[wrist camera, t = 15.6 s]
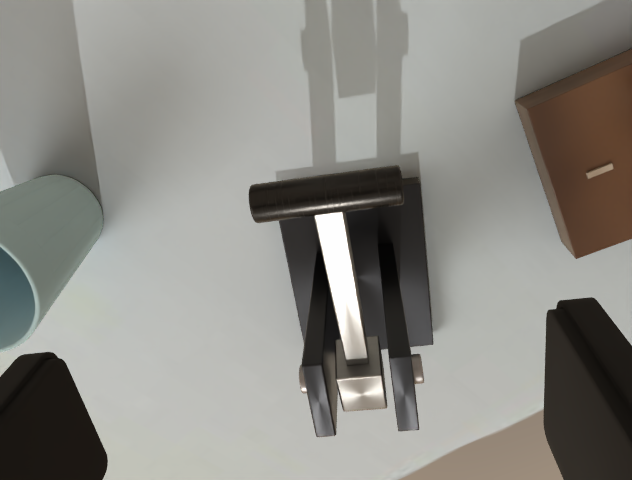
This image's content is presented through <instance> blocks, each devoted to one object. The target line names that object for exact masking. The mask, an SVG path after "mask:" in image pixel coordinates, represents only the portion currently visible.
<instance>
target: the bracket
mask: <svg viewBox="0 0 632 480" xmlns="http://www.w3.org/2000/svg"><path fill="white" fill-rule="evenodd" d="M402 184H403V193H404V203H403V205H398V206H390V207H382V208H374V209H366V210H358V211H350V212H345V213H346V218H347V224H348V230H349V236H350V242H351V248H352V254H353V260H354V266H355V272H356V277H357V283H358V289H359V295H360V301H361V307H362V313H363V319H364V325H365V331H366V336H367V337H368V336H378V337H379V341H380V348H381V349H388V353H389V362H390V370H391V378H392V386H393V393H394V401H395V409H396V417H397V425H398V431H409V430H419V422H418V413H417V403H416V394H415V384H419V383H424V377H423V368H422V361H421V356H420V354H413V355H411V350H410V347H413V346H424V345H433V333H432V321H431V309H430V297H429V285H428V273H427V261H426V249H425V237H424V225H423V213H422V201H421V189H420V182H419V179H418V177H416V178H408V179H402ZM279 223H280V228H281V233H282V238H283V243H284V247H285V252H286V257H287V262H288V267H289V272H290V277H291V282H292V287H293V291H294V296H295V301H296V306H297V311H298V316H299V321H300V326H301V331H302V335H303V340H304V351H303V358H302V365H300V368H299V381H300V388H301V391H302V393H307V395H308V400H309V404H310V409H311V414H312V419H313V423H314V428H315V433H316V436H317V437H324V436H335V435H336V424H337V395H338V387H337V383H336V379H335V340H337V339H341V338H340V333H339V328H338V324H337V319H336V315H335V310H334V305H333V301H332V296H331V292H330V287H329V283H328V278H327V273H326V269H325V264H324V260H323V255H322V250H321V246H320V241H319V237H318V232H317V227H316V223H315V218H314V216H310V217H302V218H295V219H287V220H279Z"/></svg>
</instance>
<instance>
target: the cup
mask: <svg viewBox="0 0 632 480" xmlns="http://www.w3.org/2000/svg"><path fill="white" fill-rule="evenodd" d="M102 227H103V214H102V210H101V206H100V204H99V202H98V201H97V199H96V198H95V196H94V195H93V193H92V192H91V191H90V190H89V189H88V188H87V187H85V186H84V185H83V184H81V183H80V182H78V181H76V180H75V179H72V178H69V177H66V176H62V175H48V176H42V177H38V178H35V179H33V180H30V181H27V182H25V183H22V184H19V185H17V186H14V187H11V188H9V189H6V190H4V191H1V192H0V353H1V352H5V351H8V350H11V349H13V348H16V347H18V346H19V345H21V344H22V343H24V342H25V341H26V340H27V339H28V338H29V337H30V336H31V335H32V333H33V332H34V331H35V329H36V328H37V326H38V325H39V323H40V322H41V320H42V319H43V318H44V316H45V315H46V313H47V312H48V310H49V309H50V307H51V306H52V304H53V303H54V301H55V300H56V299H57V297H58V296H59V294H60V293H61V291H62V290H63V289H64V287H65V286H66V284H67V283H68V281H69V280H70V278H71V277H72V276H73V274H74V273H75V271H76V270H77V268H78V267H79V266H80V264H81V263H82V261H83V260H84V258H85V257H86V255H87V254H88V253H89V251H90V250H91V248H92V247H93V245H94V244H95V242H96V241H97V239H98V238H99V236H100V233H101V230H102Z"/></svg>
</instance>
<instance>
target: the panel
mask: <svg viewBox="0 0 632 480" xmlns="http://www.w3.org/2000/svg"><path fill="white" fill-rule="evenodd" d="M515 104H516V107H517V110H518V113H519V116H520V119H521V122H522V125H523V128H524V131H525V134H526V137H527V140H528V143H529V146H530V149H531V152H532V155H533V158H534V161H535V164H536V167H537V170H538V173H539V176H540V179H541V182H542V185H543V188H544V191H545V194H546V197H547V200H548V203H549V206H550V209H551V212H552V215H553V218H554V221H555V224H556V227H557V230H558V233H559V236H560V239H561V242H562V243H563V244H564V245H565V246H566V248H567V249H568V250H569V251H570V252H571V254H572V255H573V256H574V257H575V258H576V259H577V258H580V257H583V256H585V255H588V254H591V253H594V252H596V251H599V250H602V249H605V248H607V247H610V246H613V245H616V244H618V243H621V242H624V241H627V240H629V239H632V49H630V50H628V51H625V52H623V53H621V54H619V55H616V56H614V57H612V58H610V59H607V60H605V61H603V62H601V63H598V64H596V65H594V66H592V67H589V68H587V69H585V70H583V71H580V72H578V73H576V74H574V75H571V76H569V77H567V78H565V79H562V80H560V81H558V82H556V83H553V84H551V85H549V86H547V87H544V88H542V89H540V90H538V91H535V92H533V93H531V94H529V95H526V96H524V97H522V98H520V99H517V100H515Z"/></svg>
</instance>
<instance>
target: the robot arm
mask: <svg viewBox="0 0 632 480" xmlns="http://www.w3.org/2000/svg"><path fill="white" fill-rule="evenodd" d="M544 430H545V435H546V438H547V441H548V444H549V446H550V449H551V451H552V453H553V456H554V458H555V460H556V463H557V465H558V467H559V469H560V472H561V474H562V477H563V479H564V480H632V346H631V344H630V343H629V342H628V341H627V339H626V338H625V337H624V335H623V334H622V333H621V331H620V330H619V329H618V327H617V326H616V325H615V324H614V322H613V321H612V320H611V318H610V317H609V316H608V314H607V313H606V312H605V311H604V309H603V308H602V307H601V305H600V304H599V303H598V301H597V300H596V299H595V298H581V299H571V300H561V301H559V302H558V304H557V308H556V309H553V310H548V312H547V318H546V353H545V389H544ZM107 463H108V460H107V454H106V452H105V450H104V447H103V445H102V443H101V441H100V438H99V436H98V434H97V432H96V429H95V427H94V425H93V423H92V421H91V418H90V416H89V414H88V412H87V409H86V407H85V405H84V403H83V401H82V398H81V396H80V394H79V392H78V389H77V387H76V385H75V383H74V381H73V378H72V376H71V374H70V372H69V369H68V367H67V365H66V363H65V362H64V360H62V359H59V358H58V357H57V356H56V355H55V354H54V353H51V352H44V353H34V354H24V355H21V356H19V357H18V358H17V359H16V360H15V361H14V362H13V363H12V364H11V365H10V367H9V368H8V369H7V370H6V371H5V372H4V373H3V374H2V376H1V377H0V480H102V479H103V477H104V475H105V473H106V470H107Z"/></svg>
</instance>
